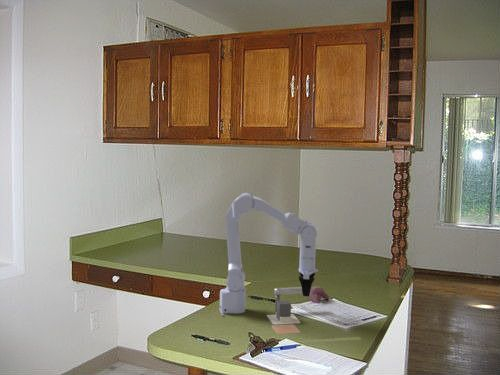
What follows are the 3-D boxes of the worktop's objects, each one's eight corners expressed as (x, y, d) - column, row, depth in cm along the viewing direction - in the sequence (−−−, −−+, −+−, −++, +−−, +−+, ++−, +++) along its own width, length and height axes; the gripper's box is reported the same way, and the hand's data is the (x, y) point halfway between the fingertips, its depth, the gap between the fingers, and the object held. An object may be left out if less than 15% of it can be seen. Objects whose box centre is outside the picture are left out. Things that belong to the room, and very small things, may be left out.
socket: (273, 326, 177) (273, 306, 176) (263, 313, 191) (264, 294, 190) (301, 325, 179) (301, 304, 178) (289, 312, 193) (290, 293, 192)
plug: (279, 321, 180) (279, 304, 180) (276, 317, 184) (276, 300, 184) (290, 320, 181) (290, 303, 181) (287, 316, 185) (287, 300, 185)
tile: (276, 336, 168) (277, 333, 168) (270, 327, 176) (271, 325, 176) (300, 335, 170) (300, 332, 169) (293, 326, 177) (293, 324, 177)
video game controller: (322, 302, 212) (315, 285, 213) (331, 299, 209) (324, 282, 211) (309, 307, 204) (302, 290, 206) (318, 304, 201) (311, 287, 203)
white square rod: (312, 293, 193) (312, 287, 193) (275, 295, 189) (275, 289, 189) (309, 291, 195) (309, 286, 195) (273, 293, 191) (273, 288, 191)
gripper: (318, 261, 180) (317, 300, 181) (318, 253, 194) (317, 289, 195) (297, 260, 181) (296, 299, 182) (300, 252, 195) (299, 288, 196)
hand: (306, 293), depth 189 cm, fingers open, 5 cm apart
